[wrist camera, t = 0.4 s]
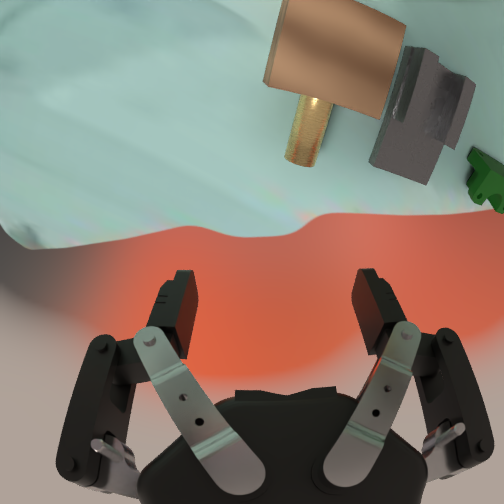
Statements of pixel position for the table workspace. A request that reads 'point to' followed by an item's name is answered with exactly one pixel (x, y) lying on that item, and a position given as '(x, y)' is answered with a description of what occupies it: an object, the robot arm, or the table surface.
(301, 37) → the wooden mallet head
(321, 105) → the cannon barrel
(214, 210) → the table surface
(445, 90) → the rest
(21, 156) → the table surface
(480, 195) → the clamp
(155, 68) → the table surface
